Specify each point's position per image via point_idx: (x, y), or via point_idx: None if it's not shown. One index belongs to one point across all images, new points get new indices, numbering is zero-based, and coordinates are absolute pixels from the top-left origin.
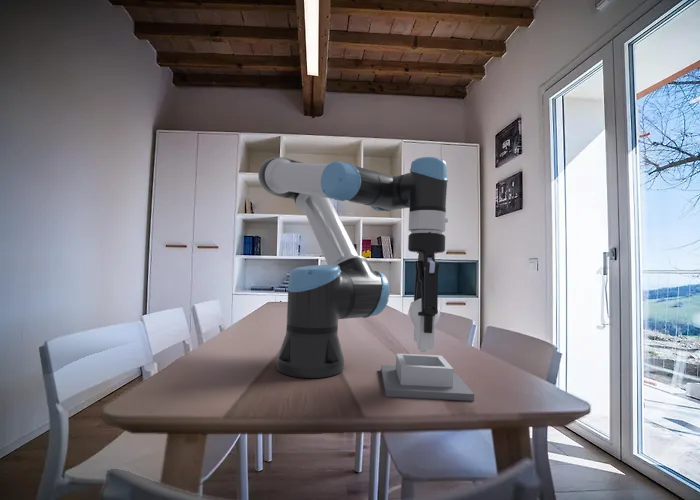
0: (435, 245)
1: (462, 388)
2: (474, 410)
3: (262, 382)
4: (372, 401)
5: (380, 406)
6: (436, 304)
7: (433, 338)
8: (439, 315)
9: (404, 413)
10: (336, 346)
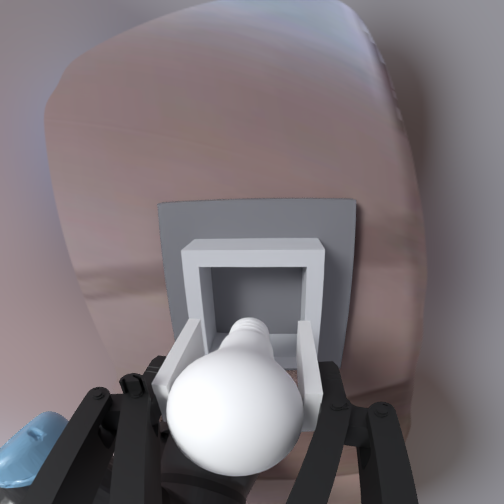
0: None
1: (321, 216)
2: (397, 215)
3: (287, 474)
4: (359, 377)
5: (378, 366)
6: (399, 434)
7: (313, 341)
8: (259, 364)
9: (405, 335)
10: None
